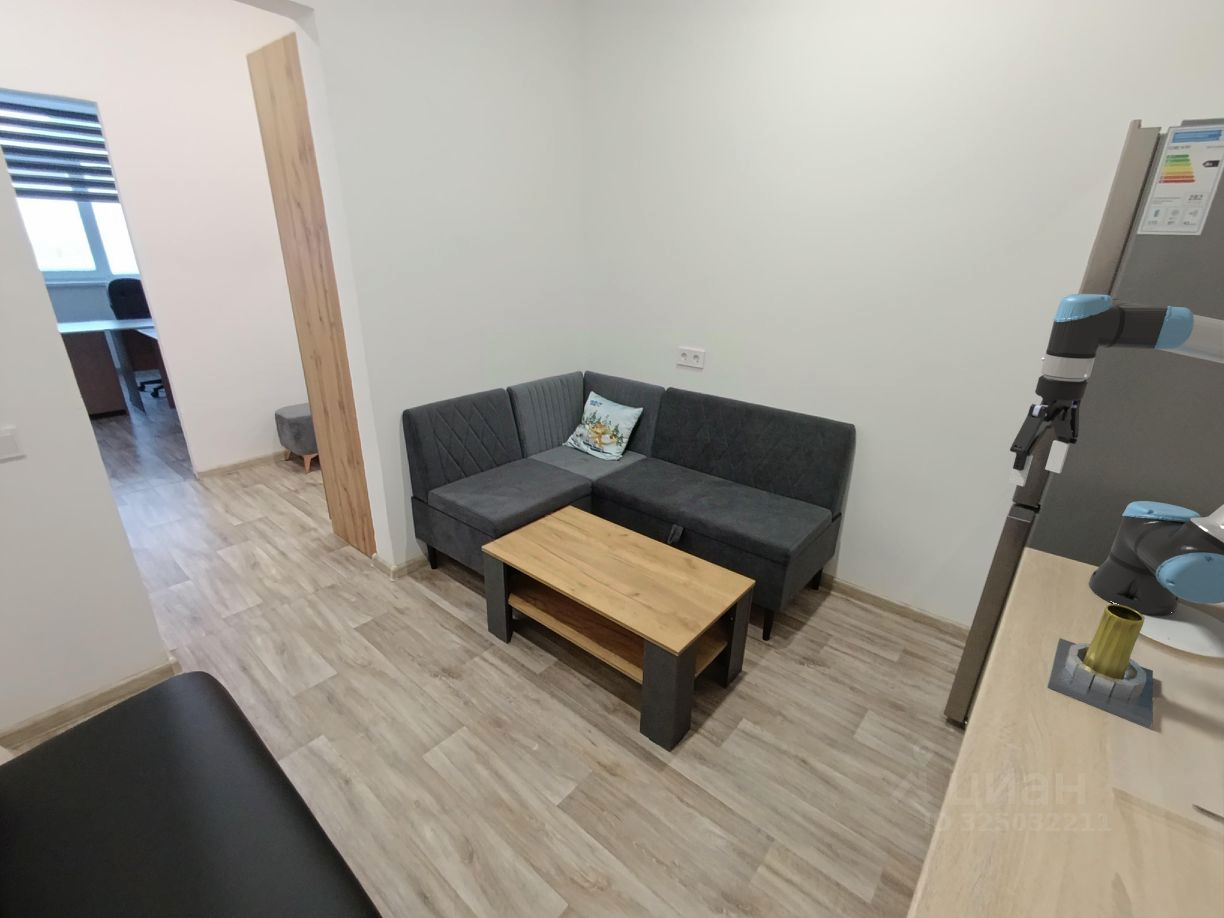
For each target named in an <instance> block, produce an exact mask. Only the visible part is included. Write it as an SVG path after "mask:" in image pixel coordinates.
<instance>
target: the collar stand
mask: <svg viewBox="0 0 1224 918" xmlns="http://www.w3.org/2000/svg"><path fill="white" fill-rule="evenodd" d="M1090 644H1091V643H1087V642H1079V643H1076V642H1074V641H1073V642H1072V641H1070V640H1066V639H1064V638H1059V640H1058V641H1057V646H1056V649H1055V650H1056V651H1055V655H1054V658H1053V662H1052V666H1051V671H1050V675H1049V679H1048V683H1047V688H1048V689H1050V690H1052V691H1055V692H1058V693H1060V694H1063V695H1065V696H1068V697H1070V698H1072V699H1074V700H1078V701H1080V702H1083V703H1086V704H1088V705H1090V706H1092V707H1095V708H1097V709H1101V710H1103V711H1105V712H1108V713H1110V714H1112V715H1114V716H1118V717H1120V718H1122V719H1124V720H1128V721H1130V722H1132V723H1135V724H1137V725H1140V726H1143V727H1145V728H1148V729H1151V727H1152V724H1153V719H1154V718H1153V717H1154V712H1153V711H1154V710H1153V708H1154V704H1153V703H1154V698H1153V697H1154V670H1153V669H1149V668H1147V667H1144V666H1141V665H1140V664H1139V663H1137V662H1136V661H1135V660H1134V659H1132V658H1130V659H1129V663H1128V666H1127V669H1126V672H1125V675H1124V678H1123V680H1121V679H1113V678H1111V677H1108V676H1105V675H1103V674H1100V673H1097V672H1096V671H1094V670H1092V669H1091V668H1089V667H1088V666H1086V665H1084V664H1083V660H1084V658H1085V655H1086V653H1087V651H1088V649H1089V646H1090Z"/></svg>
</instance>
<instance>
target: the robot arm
mask: <svg viewBox="0 0 1224 918" xmlns="http://www.w3.org/2000/svg"><path fill="white" fill-rule="evenodd" d="M1052 321H1053V324H1052V328H1051V331H1050V335H1049V339H1048V343H1047V348H1046V351H1045V355H1044V356H1043V357H1042V358H1041V361H1042V366H1041V371H1040V373H1041V374H1042V375H1040V376H1039V377H1038V380H1037V384H1036V387H1035V391H1034V392H1035V394H1036V396H1039V397H1041V398H1042V400H1041V402H1040V404H1036V403H1035V404H1034V403H1032V404H1031V405H1030V406H1029V409H1028V412H1027V415H1026V417H1025V419H1024V421H1023V423H1022V425H1021V427H1020V429H1019V431H1018V433H1017V434H1016V437H1015V438H1014V441H1013V442H1012V444H1011V446H1010V449H1009V451H1010V452H1011V453H1015V456H1014V458H1013V459H1014V460H1013V463H1012V467H1011V470H1010V473H1009V479H1008V483H1011V484H1013V485H1017V486H1020V487H1025V486H1026V483H1027V478H1028V475H1029V471H1030V467H1031V463H1032V460H1033V458H1034V455H1033V451H1034V450H1035V448H1036V447H1037V445H1038V444H1039V442H1040V441H1041V439H1042V438H1043V437H1044V435H1045V434H1046V432H1047V431H1048V430H1049V429H1050V430H1051V429H1052V428H1053V430H1054V434H1055V439H1056V440H1053V441H1052V444H1051V447H1050V451H1049V455H1048V458H1047V461H1046V464H1045V468H1044V470H1046V471H1049V472H1053V473H1056V474H1061V473H1062V471H1063V468H1064V464H1065V461H1066V459H1067V454H1068V451H1069V448H1070V445H1071V444H1074V445H1076V444H1077V442H1078V437H1079V431H1080V429H1079V426H1080V425H1079V424H1080V407H1081V402H1082V399H1083V398H1084V396H1085V392H1086V390H1087V385H1088V381H1087V379H1089V378H1090V377H1091V375H1092V370H1093V366H1094V363H1095V359H1096V357H1097V352H1098V350H1099V348H1104V349H1105V348H1106V349H1107V348H1108V349H1109V348H1113V349H1114V348H1117V349H1135V350H1136V349H1137V350H1139V349H1140V350H1153V351H1157V350H1160V351H1164V352H1168V353H1169V352H1170V353H1173V354H1178V355H1182V356H1187V357H1192V358H1196V359H1202V360H1205V361H1210V362H1215V363H1220V364H1224V320H1223V319H1217V318H1214V317H1213V318H1212V317H1208V316H1204V315H1203V316H1202V315H1197V314H1193V312H1192V311H1191V310H1190V308H1187V307H1185V306H1184V307H1182V306H1180V307H1179V306H1171V305H1167V306H1154V305H1147V304H1142V303H1137V302H1133V301H1132V302H1131V301H1127V300H1122V299H1118V298H1113V297H1112V296H1110V295H1109V294H1100V293H1099V294H1097V293H1096V294H1095V293H1094V294H1092V293H1070V294H1067V295H1065V296H1063V297H1062V298H1061V300H1060V302H1059V304H1058V306H1057V309H1056V312H1055V315H1054V318H1053V320H1052ZM1113 539H1114V540H1113V543H1112V545H1111V547H1110V552H1109V554H1108V557H1107V558H1106V559H1105V560H1104V561H1103V562H1102V563H1101V564H1100V565H1099V566H1098V567H1097V569H1096V570H1094V571H1093V572H1092V573H1091V575H1090V578H1089V581H1088V586H1089V589H1091V591H1092V592H1093V593H1094V594H1095V595H1097V596H1098V597H1100V598H1102V599H1103V600H1104V601H1107V602H1109V603H1110V601H1112V602H1114V603H1117V604H1119V605H1123V606H1126V607H1129V608H1132V609H1134V610H1136V611H1138V612H1139V613H1140V614H1145V615H1151V616H1152V615H1153V616H1166V615H1171V614H1172V613H1171V612H1173V611H1174V610H1175V611H1176V610H1177V607H1178V605H1179V598H1180V599H1182V600H1183V601H1187V602H1190V603H1195V604H1201V605H1204V604H1214V605H1215V604H1216V605H1217V604H1221V603H1224V503H1223V504H1221V506H1219V507H1218V508H1216V510H1214V512H1212V513H1211V514H1210V515H1208V516H1205V517H1202V516H1201V515H1200V513H1198V512H1197V511H1194V510H1193V509H1189V508H1185V507H1183V506H1178V505H1175V504H1169V503H1166V502H1165V503H1164V502H1157V501H1150V500H1139V501H1132V502H1130V503H1128V504H1127V506H1126V508H1125V510H1124V512H1123V513H1122V515H1121V520H1120V522H1119V526H1118V527H1117V531H1116V534H1115V537H1114V538H1113ZM1175 611H1174V612H1175ZM1174 612H1173V613H1174ZM1170 613H1171V614H1170Z"/></svg>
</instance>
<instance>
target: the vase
mask: <svg viewBox="0 0 1224 918" xmlns="http://www.w3.org/2000/svg"><path fill="white" fill-rule="evenodd" d="M1101 615H1102V616H1101V617H1100V620H1099V623H1098V626H1097V628H1096V631H1095V633H1094V635H1093V638H1092V640H1091V642H1090V643H1089V644H1090V646H1089V649H1088V651H1087V653H1086V655H1085V658H1084V660H1083V664H1084V665H1086V666H1088V667H1089V668H1091V669H1092V670H1094V671H1096V672H1097V673H1100V674H1103V675H1105V676H1108V677H1111V678H1113V679H1121V680H1123V678H1124V675H1125V672H1126V669H1127V666H1128V663H1129V659H1131V655H1132V654H1133V653H1132V652H1133V650H1134V647H1135V645H1136V643H1137V640H1138V638H1139V635H1140V633H1141V630H1142V628H1143V625H1144V622H1145V616H1144V615H1143V613H1139V612H1138V611H1136V610H1134V609H1132V608H1129V607H1126V606H1123V605H1118V604H1112V603H1110V604H1109V603H1108V604H1107V605H1106V606H1105V607H1104V609H1103V612H1102V614H1101Z"/></svg>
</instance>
